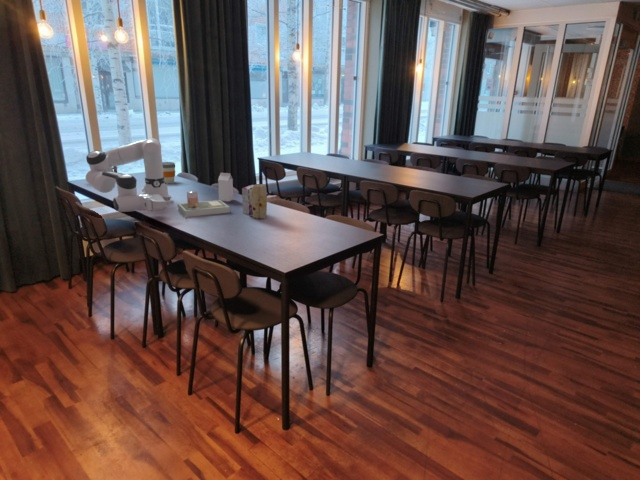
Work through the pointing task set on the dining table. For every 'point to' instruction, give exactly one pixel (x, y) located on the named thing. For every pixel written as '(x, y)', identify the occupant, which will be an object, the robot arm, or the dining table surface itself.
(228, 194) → the milk carton
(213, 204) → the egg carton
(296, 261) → the dining table surface
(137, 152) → the robot arm
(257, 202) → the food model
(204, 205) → the pale green tray
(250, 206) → the candy bar box
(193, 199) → the glass jar
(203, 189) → the dining table surface
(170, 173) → the reusable coffee cup
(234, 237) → the dining table surface
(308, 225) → the dining table surface
